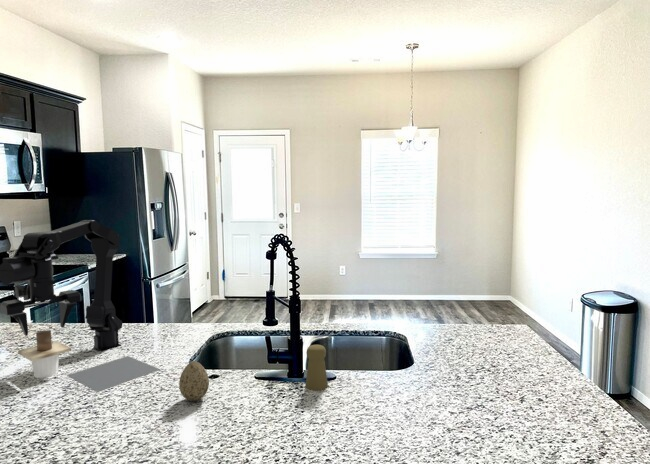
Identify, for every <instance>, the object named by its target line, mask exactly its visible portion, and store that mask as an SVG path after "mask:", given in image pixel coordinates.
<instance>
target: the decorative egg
mask: <svg viewBox="0 0 650 464" xmlns="http://www.w3.org/2000/svg"><path fill="white" fill-rule="evenodd" d="M209 385H210V379H209V375H208V372H207V370H206V369H205V367H204V366H203V365H202V364H201V363H200V362H198V361H196V360H192V361H190V362H188V363H187V364H186V366H185V367H184V368H183V370H182V372H181V374H180V377H179V383H178V388H179V391H180V394H181V395H182V397H183V398H184V399H186V400H188V401H190V402H195V401H196V402H197V401H199V400H201V399H202V398H204V397H205V396H206V394H207V392H208V390H209Z"/></svg>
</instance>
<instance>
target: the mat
mask: <svg viewBox="0 0 650 464" xmlns="http://www.w3.org/2000/svg"><path fill="white" fill-rule="evenodd" d="M160 370H161V368H158V367H155V366H153V365H151V364H148V363H146V362H144V361H141V360H139V359H136V358H135V357H132V356H129V355H126V356H124V357H121V358H117V359H115V360H110V361H108V362H104V363H102V364H101V363H100V364H99V365H95V366H92V367H88V368H85V369H82V370H80V371H76V372H73V373H70V374H67V375H66V376H67V377H69V378H71V379H73V380H75V381H76V382H78V383H80V384H82V385H84V386H86V388H90V389H91V390H93V391H94V392H96V393H98V392H103V391H105V390H108V389H110V388H113V387H116V386H119V385H121V384H124V383H127V382H130V381H133V380H135V379H138V378H141V377H143V376H147V375H149V374H152V373H155V372H158V371H160Z"/></svg>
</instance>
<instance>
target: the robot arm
mask: <svg viewBox="0 0 650 464" xmlns="http://www.w3.org/2000/svg"><path fill="white" fill-rule="evenodd" d="M80 237H84V238H85V239H86V240H88V241H89V242H90V243H91V244H90V245H91V250H92V251H93V254H94V255H95V258H96V260H95V274H94V290H93V291H94V293H93V294H94V295H93V301H92V303H91V304H90V305H87V306H86V308H85V311H86V313H85V314H86V315H85V317H84V318H85V319H86V323H87V325H88V326H89V328H90V330H91V331H94V336H93V341H94V342H93V344H94V345H93V349H95V350H98V351H101V352H105V351H108V350H113V349H115V348H118V347H122V344H121V343H120V342H119V341H120V340H119V331H120V330H121V329H122V327H123V321H122V320H121V319H120V318H118V316H117V315H116V314H117V313H116V307H115V305H114V304H113V302H112V300H111V298H112V281H113V280H112V279H113V263H114V261H113V260H114V256H115V255H116V253H117V252H118V251H119V248H120V247H119V246H120V241H121V237H120V235H119V233H118V232H117V231H116V230H113V229H111V228H109V227H107V226H106V225H103V224H101V223H99V222H98V221H97V220H95V219H83V220H79V222H75V223H72V224H70V225H67V226H62V227H60V228H57V229H54V230H47V231H35V232H28V233H26V234H24V235H23V238H22V241H21V242H20V245H19V246H18V248H17V250H16V251H15V253H14V254H13V257H3V258H2V263H0V283H2V284H4V285H11V284H15V283H21V282H24V281H27V286H25V285H24V284H22V285H21V284H19V285H16V286H14V295H15V298H17V299H12V300H11V299H10V300H4V301H2V302H1V304H0V313H2V314H4V315H7V316H11V317H12V318H14V319H15V321H16V322H17V323H18V325H19V327H20V329H21V331H22V333H23V335H24V336H26V337H28V335H29V328H28V317H27V315H28V314H27V312H24V310H26V309H28V308H33V307H38V306H44V305H49V304H54V303H58V306H59V322H60V328H64V327H65V325H66V323H67V320H68V318H69V316H70V314H71V312H72V310H73V308H74V307H75V306H77V305H78V303H77V302H81V301H82V294H81V292H79V291H78V290H73V289H69V290H64V291H63V290H62V291H60V292H59V294H58V295H56V294H55V289H54V288H55V287H54V285H55V284H56V280H55V279H54V274H53V273H54V271H53V260H58V259H59V256H58V255H56V254H55V253H54V251H56V250H57V249H58V248H60V246H61V245H62V244H64V243H67V242H69V241H72V240H75V239H78V238H80ZM18 298H23V300H24V301H22V300H20V299H18Z"/></svg>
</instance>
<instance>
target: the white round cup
mask: <svg viewBox="0 0 650 464" xmlns="http://www.w3.org/2000/svg"><path fill="white" fill-rule="evenodd" d="M59 355H60V354H57V355H54V356H50V357H46V358H42V359H39V360H35V361H31V366H32V370H33V376H34V378H36V379H44V378H49V377H53V376H55V375H57V374H58V373H59V372H58V371H59Z"/></svg>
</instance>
